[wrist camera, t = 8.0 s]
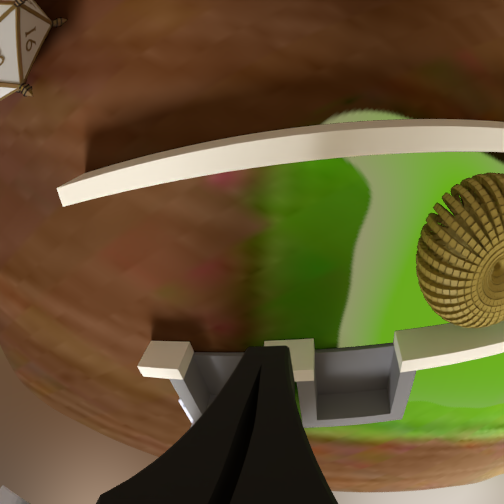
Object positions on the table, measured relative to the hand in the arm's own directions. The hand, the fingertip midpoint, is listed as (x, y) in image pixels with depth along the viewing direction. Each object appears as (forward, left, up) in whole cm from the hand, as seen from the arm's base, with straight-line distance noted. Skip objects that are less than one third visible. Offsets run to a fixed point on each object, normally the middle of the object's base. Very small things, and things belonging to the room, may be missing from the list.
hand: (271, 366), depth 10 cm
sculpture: (0, -10, -7) cm, 13 cm away
